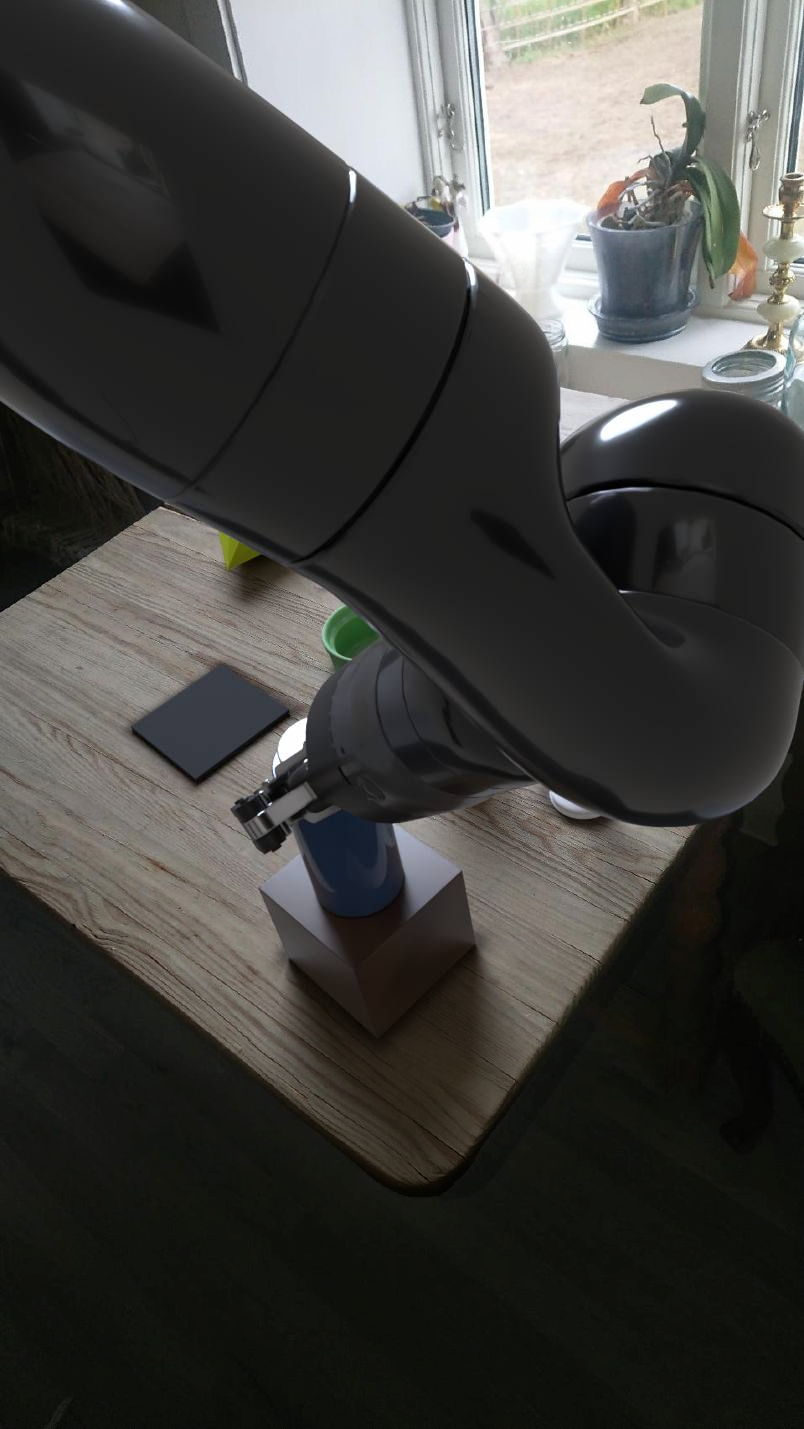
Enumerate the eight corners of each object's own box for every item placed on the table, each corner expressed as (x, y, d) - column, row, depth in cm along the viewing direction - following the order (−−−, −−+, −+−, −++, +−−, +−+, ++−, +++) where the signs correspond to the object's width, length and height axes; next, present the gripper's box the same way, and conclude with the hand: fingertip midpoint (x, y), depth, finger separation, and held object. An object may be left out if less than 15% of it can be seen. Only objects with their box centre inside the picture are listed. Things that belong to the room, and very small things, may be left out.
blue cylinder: (356, 935, 57) (311, 799, 48) (295, 884, 60) (244, 749, 52) (423, 873, 59) (392, 735, 51) (361, 828, 62) (323, 691, 54)
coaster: (197, 782, 79) (195, 779, 79) (131, 729, 85) (130, 726, 85) (290, 712, 83) (289, 709, 83) (222, 667, 89) (220, 663, 89)
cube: (378, 1039, 60) (354, 971, 55) (287, 957, 66) (257, 887, 60) (476, 943, 64) (462, 870, 59) (383, 872, 70) (363, 799, 64)
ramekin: (440, 633, 88) (434, 594, 85) (420, 702, 82) (412, 663, 79) (346, 630, 90) (336, 593, 87) (319, 698, 84) (308, 659, 81)
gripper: (497, 561, 42) (372, 654, 58) (222, 742, 36) (166, 791, 52) (593, 705, 42) (443, 759, 58) (335, 906, 37) (246, 906, 52)
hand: (313, 774), depth 55 cm, fingers closed on blue cylinder, 5 cm apart
